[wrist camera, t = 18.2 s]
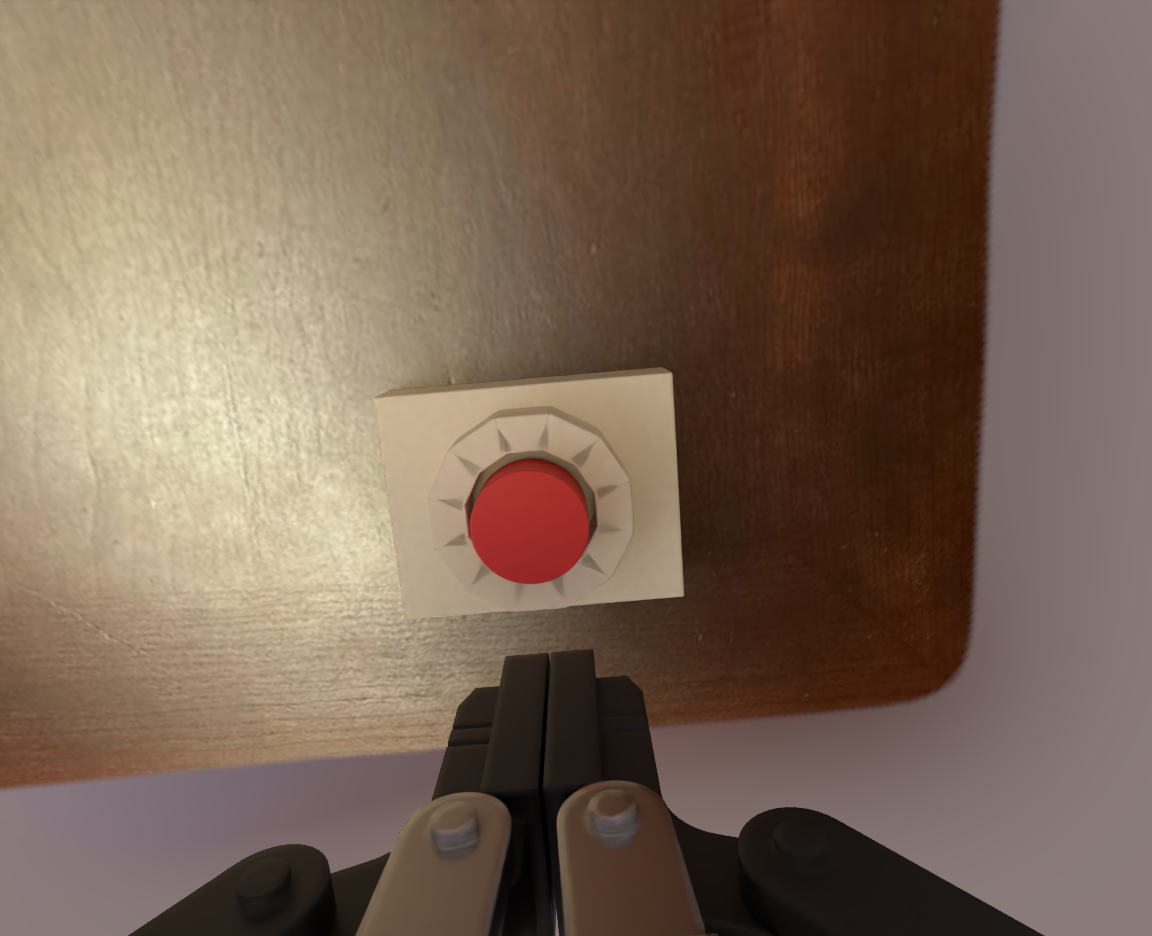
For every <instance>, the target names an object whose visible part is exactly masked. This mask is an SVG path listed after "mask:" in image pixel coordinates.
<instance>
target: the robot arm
mask: <svg viewBox="0 0 1152 936" xmlns="http://www.w3.org/2000/svg"><path fill="white" fill-rule="evenodd" d="M556 910H557V919H558V928H559V936H1044V935H1042V934H1040V933H1038V932H1036V931H1035V930H1033V929H1031V928H1030V927H1028V926H1026V925H1024V924H1022V923H1021V922H1019V921H1017V920H1015V919H1013V918H1012V917H1009V916H1008V915H1006V914H1005V913H1003V912H1001V911H999V910H997V909H996V908H994V907H992V906H990V905H988V904H987V903H985V902H983V901H981V900H980V899H978V898H976V897H974V896H972V895H971V894H969V893H967V892H965V891H963V890H962V889H960V888H958V887H956V886H954V885H953V884H951V883H949V882H947V881H945V880H944V879H942V878H940V877H938V876H936V875H935V874H933V873H931V872H929V871H928V870H926V869H924V868H922V867H920V866H919V865H917V864H915V863H913V862H911V861H910V860H908V859H906V858H904V857H903V856H901V855H899V854H897V853H895V852H894V851H892V850H890V849H888V848H886V847H885V846H883V845H881V844H879V843H878V842H876V841H874V840H872V839H870V838H869V837H867V836H865V835H863V834H862V833H860V832H858V831H856V830H854V829H853V828H851V827H849V826H847V825H845V824H844V823H842V822H840V821H838V820H837V819H835V818H832V817H830V816H828V815H826V814H823V813H820V812H818V811H814V810H810V809H804V808H796V807H793V808H792V807H785V808H776V809H772V810H768V811H765V812H762V813H760V814H758V815H756V816H755V817H753V818H752V819H750V820H749V821H748V822H747V823H746V824H745V826H744V827H743V829H742V830H741V832H740V835H739V838H736V837H731V836H725V835H719V834H715V833H710V832H706V831H703V830H700V829H697V828H695V827H692V826H691V825H689V824H687V823H685V822H683V821H682V820H681V819H679V818H678V817H677V816H675V815H674V814H673V813H672V812H671V811H670V809H669V808H668V807H667V805H666V803H665V802H664V800H663V798H662V795H661V790H660V785H659V779H658V774H657V768H656V763H655V758H654V753H653V747H652V742H651V736H650V731H649V725H648V719H647V714H646V709H645V703H644V698H643V692H642V691H641V690H640V689H639V688H638V687H637V686H636V685H635V684H634V683H633V682H632V681H631V680H630V679H629V678H628V677H627V676H618V677H606V678H596V673H595V662H594V651H593V649H587V650H574V651H562V652H552V653H551V664H550V659H549V654H548V653H539V654H527V655H514V656H506V657H505V661H504V666H503V671H502V677H501V682H500V686H496V687H484V688H475V689H474V690H473V692H472V693H471V694H470V695H469V696H468V697H467V698H466V699H465V700H464V701H463V702H462V703H461V704H460V705H459V706H458V709H457V713H456V717H455V720H454V724H453V730H452V731H451V734H450V738H449V741H448V747H447V748H446V752H445V755H444V759H443V762H442V766H441V769H440V773H439V776H438V780H437V784H436V787H435V791H434V795H433V798H432V801H431V802H429V803H427V804H425V805H424V806H422V807H421V808H419V809H418V810H417V811H415V812H414V813H413V814H412V815H411V816H410V817H409V818H408V820H407V821H406V822H405V823H404V825H403V827H402V829H401V830H400V833H399V835H398V837H397V840H396V842H395V844H394V847H393V849H392V851H391V852H389V853H387V854H385V855H383V856H381V857H379V858H376V859H373V860H371V861H368V862H365V863H362V864H359V865H356V866H353V867H350V868H346V869H343V870H340V871H338V872H334V873H331V874H330V869H329V864H328V861H327V859H326V857H325V855H323V853H322V852H320V851H319V850H317V849H315V848H313V847H310V846H307V845H300V844H288V845H281V846H276V847H272V848H269V849H265V850H263V851H260V852H257V853H255V854H253V855H251V856H249V857H247V858H245V859H243V860H241V861H240V862H238V863H236V864H235V865H233V866H232V867H230V868H229V869H227V870H226V871H224V872H223V873H221V874H220V875H219V876H217V877H216V878H214V879H213V880H211V881H209V882H208V883H206V884H205V885H203V886H202V887H200V888H199V889H197V890H196V891H194V892H193V893H191V894H190V895H188V896H187V897H185V898H184V899H182V900H181V901H179V902H178V903H176V904H175V905H173V906H172V907H170V908H169V909H167V910H166V911H164V912H163V913H161V914H160V915H159V916H157V917H155V918H154V919H152V920H151V921H150V922H148V923H146V924H145V925H144V926H142V927H140V928H139V929H137V930H136V931H134V932H133V933H131V934H130V935H128V936H555V926H556Z"/></svg>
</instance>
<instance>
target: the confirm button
mask: <svg viewBox="0 0 1152 936" xmlns="http://www.w3.org/2000/svg"><path fill="white" fill-rule="evenodd" d="M470 535H471V540H472V543H473V546H474V549H475V551H476V553H477V555H478V556H479V558H480V559H481V561H482V562H483V563H484V564H485V565H486V566H487V567H488V568H489V569H490V570H491V571H492V572H494V573H495V574H497V575H498V576H500V577H502V578H504V579H506V580H509V581H512V582H516V583H520V584H539V583H545V582H548V581H551V580H554V579H556V578H558V577H560V576H562V575H564V574H565V573H566V572H568V571H569V570H570V569H571V568H572V567H573V566H574V565H575V564H576V563H577V562H578V560H579V559H580V557H581V556H582V554H583V552H584V550H585V548H586V545H587V541H588V537H589V517H588V508H587V502H586V498H585V495H584V492H583V490H582V488H581V486H580V485H579V483H578V482H577V480H576V479H575V478H574V477H573V476H572V475H571V474H570V473H569V472H568V471H567V470H565V469H564V468H562V467H561V466H559V465H557V464H555V463H552V462H550V461H546V460H542V459H522V460H517V461H513V462H511V463H508V464H506V465H504V466H503V467H501V468H499V469H498V470H497V471H495V472H494V473H493V474H492V475H491V476H490V477H489V478H488V480H487V481H486V482H485V484H484V486H483V487H482V489H481V491H480V493H479V496H478V498H477V500H476V502H475V504H474V507H473V510H472V513H471V518H470Z"/></svg>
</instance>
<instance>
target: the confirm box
mask: <svg viewBox="0 0 1152 936" xmlns="http://www.w3.org/2000/svg"><path fill="white" fill-rule="evenodd" d="M373 402H374V408H375V415H376V422H377V429H378V436H379V443H380V449H381V456H382V463H383V470H384V477H385V484H386V490H387V497H388V504H389V511H390V518H391V524H392V531H393V538H394V545H395V552H396V559H397V565H398V572H399V579H400V586H401V593H402V600H403V606H404V613H405V618H406V619H407V620H409V619H421V618H433V617H445V616H457V615H468V614H480V613H492V612H504V611H515V612H520V611H532V610H544V609H556V608H566V607H567V606H575V605H587V604H599V603H611V602H623V601H635V600H647V599H659V598H670V597H682V596H684V581H683V563H682V544H681V525H680V506H679V487H678V468H677V449H676V430H675V412H674V393H673V374H672V373H671V372H670V371H668V370H666V369H665V368H663V367H658V368H646V369H635V370H623V371H611V372H599V373H587V374H576V375H564V376H552V377H540V378H529V379H517V380H505V381H493V382H482V383H470V384H458V385H446V386H435V387H423V388H411V389H399V390H390V391H387V392H385V393H383V394H381V395H379V396H377V397H375V398H374V399H373ZM522 459H542V460H546V461H550V462H552V463H555V464H557V465H559V466H561V467H562V468H564V469H565V470H567V471H568V472H569V473H570V474H571V475H572V476H573V477H574V478H575V479H576V480H577V482H578V483H579V485H580V486H581V488H582V490H583V492H584V495H585V498H586V502H587V508H588V517H589V537H588V541H587V545H586V548H585V550H584V552H583V554H582V556H581V557H580V559H579V560H578V562H577V563H576V564H575V565H574V566H573V567H572V568H571V569H570V570H569V571H568V572H566V573H565V574H564V575H562V576H560V577H558V578H556V579H554V580H551V581H548V582H545V583H539V584H520V583H516V582H512V581H509V580H506V579H504V578H502V577H500V576H498V575H497V574H495V573H494V572H492V571H491V570H490V569H489V568H488V567H487V566H486V565H485V564H484V563H483V562H482V561H481V559H480V558H479V556H478V555H477V553H476V551H475V549H474V546H473V543H472V540H471V535H470V518H471V513H472V510H473V507H474V504H475V502H476V500H477V498H478V496H479V493H480V491H481V489H482V487H483V486H484V484H485V482H486V481H487V480H488V478H489V477H490V476H491V475H492V474H493V473H494V472H495V471H497V470H498V469H499V468H501V467H503V466H504V465H506V464H508V463H511V462H513V461H517V460H522Z"/></svg>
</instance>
